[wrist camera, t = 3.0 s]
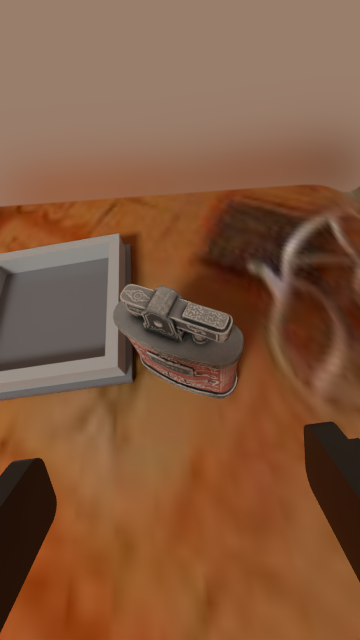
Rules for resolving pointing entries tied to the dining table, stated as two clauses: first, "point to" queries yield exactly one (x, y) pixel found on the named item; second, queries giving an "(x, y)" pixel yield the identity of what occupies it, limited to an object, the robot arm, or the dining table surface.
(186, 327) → the lighter
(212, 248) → the dining table surface
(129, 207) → the dining table surface
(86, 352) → the tray
